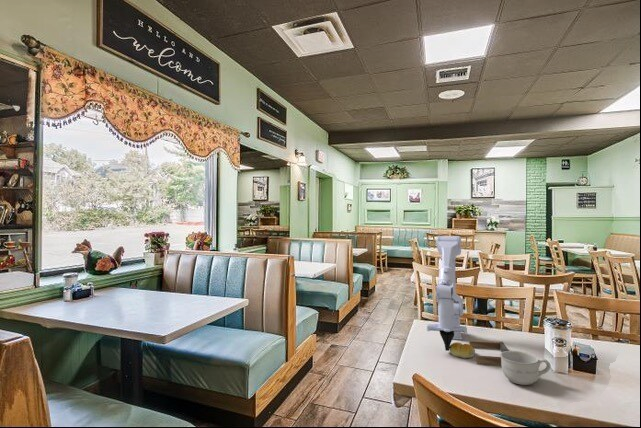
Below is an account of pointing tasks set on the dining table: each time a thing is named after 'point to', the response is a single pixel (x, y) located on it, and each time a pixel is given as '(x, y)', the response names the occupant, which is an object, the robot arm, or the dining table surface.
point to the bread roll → (462, 350)
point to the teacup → (522, 367)
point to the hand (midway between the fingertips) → (447, 349)
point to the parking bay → (488, 345)
